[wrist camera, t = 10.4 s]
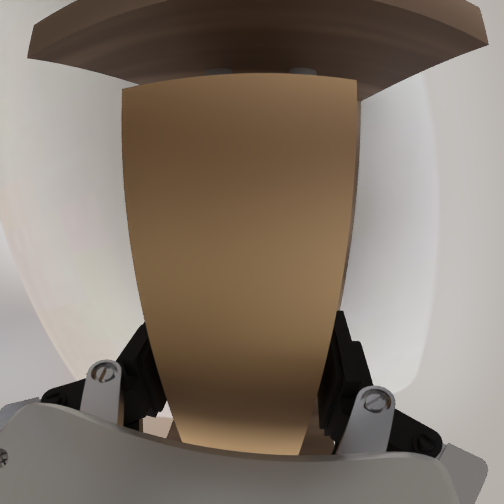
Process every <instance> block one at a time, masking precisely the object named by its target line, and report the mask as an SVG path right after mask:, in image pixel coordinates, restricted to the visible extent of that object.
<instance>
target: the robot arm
mask: <svg viewBox="0 0 504 504" xmlns="http://www.w3.org/2000/svg"><path fill="white" fill-rule="evenodd" d="M317 399H318V414H319V428H320V429H324V436H330V438H331V439H332V440H334V441H335V444H334V447H333V449H332V452H331V454H330V455H275V454H260V453H248V452H239V451H231V450H223V449H216V448H210V447H204V446H199V445H193V444H188V443H184V442H179V441H174V440H170V439H166V438H162V437H158V436H154V435H150V434H147V433H143V419H142V418H144V417H146V415H147V416H151V417H155V418H156V416H157V413H158V411H159V412H161V411H162V410H163V408H164V406H165V403H166V401H167V398H166V395H165V392H164V389H163V386H162V383H161V380H160V376H159V373H158V370H157V366H156V363H155V359H154V355H153V352H152V348H151V344H150V340H149V336H148V332H147V328H146V324H145V322H144V324H143V325H141V326H140V327H139V328H138V330H137V331H136V333H135V334H134V335H133V337H132V338H131V340H130V341H129V343H128V344H127V345H126V347H125V348H124V350H123V351H122V353H121V354H120V356H119V357H118V358H117V360H116V361H113V360H101V361H98V362H96V363H94V364H93V365H92V366H91V367H90V368H89V370H88V373H87V377H86V378H85V379H82V380H79V381H76V382H73V383H69V384H66V385H63V386H59V387H56V388H53V389H50V390H48V391H47V392H46V393H45V394H44V395H43V396H42V399H39V397H36V398H32V399H28V400H24V401H21V402H16V403H12V404H8V405H5V406H4V407H3V408H2V409H1V410H0V504H474V503H475V501H476V499H477V497H478V495H479V492H480V491H481V488H482V486H483V484H484V481H485V478H486V476H487V472H488V467H487V464H486V462H485V461H484V460H483V459H481V458H479V457H477V456H475V455H473V454H471V453H468V452H466V451H464V450H462V449H460V448H458V447H456V446H454V445H452V444H450V443H448V444H447V445H445V444H443V443H442V439H441V437H440V435H439V434H438V433H437V432H436V431H434V430H433V429H431V428H429V427H427V426H425V425H424V424H422V423H420V422H418V421H416V420H415V419H413V418H411V417H409V416H407V415H406V414H404V413H402V412H400V411H399V410H397V409H395V398H394V396H393V394H392V393H391V392H390V391H389V390H387V389H386V388H383V387H380V386H373V383H372V379H371V376H370V372H369V369H368V365H367V362H366V358H365V355H364V352H363V348H362V345H361V343H360V342H359V341H352V340H351V336H350V333H349V329H348V326H347V322H346V319H345V315H344V312H343V311H337V312H336V317H335V322H334V327H333V331H332V336H331V341H330V345H329V350H328V354H327V358H326V362H325V366H324V370H323V374H322V378H321V382H320V386H319V390H318V393H317Z"/></svg>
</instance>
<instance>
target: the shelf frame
mask: <svg viewBox="0 0 504 504" xmlns="http://www.w3.org/2000/svg"><path fill="white" fill-rule="evenodd" d="M487 45H488V40H487V35H486V30H485V26H484V23H483V19H482V15H481V11H480V9H479V7H477V6H475V5H473V4H471V3H469V2H467V1H466V0H77V1H75V2H73V3H71V4H69V5H67V6H65V7H64V8H62V9H60V10H58V11H56V12H55V13H53V14H51V15H50V16H48V17H46V18H45V19H43V20H41V21H40V22H38V23H37V24H35V25H34V27H33V32H32V36H31V41H30V46H29V51H28V57H27V58H30V59H37V60H43V61H49V62H54V63H59V64H64V65H69V66H73V67H78V68H82V69H86V70H90V71H94V72H98V73H102V74H106V75H109V76H113V77H116V78H120V79H123V80H126V81H130V82H133V83H136V84H139V85H144V84H149V83H155V82H161V81H167V80H174V79H181V78H189V77H198V76H208V75H222V74H242V73H284V74H304V75H317V76H328V77H337V78H345V79H352V80H357V135H356V158H355V175H354V188H353V199H352V210H351V219H350V228H349V236H348V244H347V251H346V259H345V265H344V272H343V278H342V284H341V290H340V296H339V301H338V307H337V311H340V306H341V300H342V295H343V289H344V284H345V278H346V272H347V266H348V259H349V252H350V245H351V238H352V230H353V222H354V213H355V203H356V193H357V181H358V167H359V149H360V116H361V101H362V100H364V99H366V98H368V97H370V96H372V95H374V94H376V93H378V92H380V91H382V90H384V89H386V88H388V87H390V86H392V85H394V84H396V83H398V82H400V81H402V80H404V79H406V78H408V77H410V76H413V75H415V74H417V73H419V72H421V71H424V70H426V69H428V68H430V67H433V66H435V65H437V64H440V63H442V62H444V61H447V60H449V59H452V58H454V57H457V56H459V55H462V54H465V53H467V52H470V51H473V50H475V49H478V48H481V47H484V46H487ZM166 439H170V440H174V441H179V442H182V440H181V437H180V435H179V432H178V429H177V427H176V424H175V421H174V420H173V422H172V425H171V428H170V430H169V433H168V436H167V438H166ZM333 447H334V440H332V439H331V438H330V436H324V429H320V428H319V414H318V399H317V397H316V400H315V404H314V407H313V411H312V414H311V418H310V421H309V424H308V427H307V430H306V434H305V437H304V440H303V443H302V446H301V449H300V452H299V454H298V455H330V454H331V452H332V449H333Z"/></svg>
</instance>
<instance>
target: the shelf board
mask: <svg viewBox="0 0 504 504" xmlns="http://www.w3.org/2000/svg"><path fill="white" fill-rule="evenodd" d="M356 135H357V80H352V79H345V78H337V77H328V76H317V75H304V74H284V73H242V74H222V75H208V76H198V77H189V78H181V79H174V80H167V81H161V82H155V83H149V84H144V85H139V86H134V87H129V88H125V89H122V159H123V177H124V191H125V202H126V212H127V221H128V229H129V237H130V244H131V251H132V258H133V264H134V270H135V275H136V281H137V286H138V291H139V296H140V301H141V306H142V311H143V315H144V320H145V324H146V328H147V332H148V336H149V340H150V344H151V348H152V352H153V355H154V359H155V363H156V366H157V370H158V373H159V376H160V380H161V383H162V386H163V389H164V392H165V395H166V398H167V401H168V404H169V407H170V410H171V413H172V416H173V419H174V421H175V424H176V427H177V429H178V432H179V435H180V437H181V440H182V442H184V443H188V444H193V445H199V446H204V447H210V448H216V449H223V450H231V451H239V452H248V453H260V454H275V455H298V454H299V452H300V449H301V446H302V443H303V440H304V437H305V434H306V430H307V427H308V424H309V421H310V418H311V414H312V411H313V407H314V404H315V400H316V397H317V393H318V390H319V386H320V382H321V378H322V374H323V370H324V366H325V362H326V358H327V354H328V350H329V345H330V341H331V336H332V331H333V327H334V322H335V317H336V312H337V307H338V301H339V296H340V290H341V284H342V278H343V272H344V265H345V259H346V251H347V244H348V236H349V228H350V219H351V210H352V199H353V188H354V175H355V158H356Z"/></svg>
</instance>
